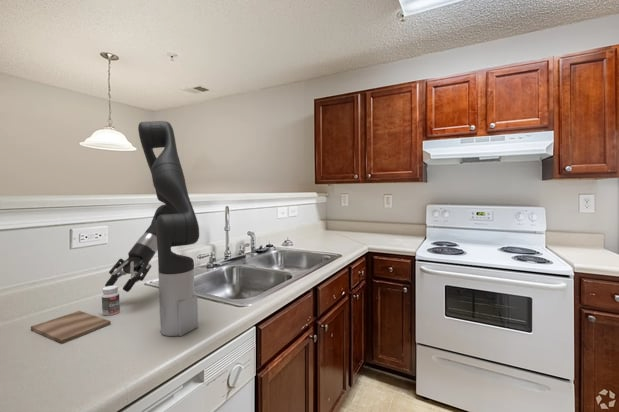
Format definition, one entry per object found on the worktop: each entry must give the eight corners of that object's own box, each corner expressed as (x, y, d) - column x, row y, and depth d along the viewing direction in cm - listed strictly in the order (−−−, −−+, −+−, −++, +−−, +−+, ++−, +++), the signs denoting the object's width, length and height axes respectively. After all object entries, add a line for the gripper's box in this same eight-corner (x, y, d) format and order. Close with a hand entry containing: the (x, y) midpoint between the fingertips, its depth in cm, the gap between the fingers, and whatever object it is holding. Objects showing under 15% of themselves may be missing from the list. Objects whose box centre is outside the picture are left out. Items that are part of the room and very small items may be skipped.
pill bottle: (111, 316, 91) (109, 290, 90) (98, 315, 92) (97, 289, 91) (123, 310, 96) (122, 285, 95) (111, 309, 96) (110, 284, 96)
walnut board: (110, 324, 85) (110, 321, 85) (61, 343, 75) (61, 340, 75) (79, 313, 93) (79, 310, 93) (30, 330, 82) (30, 326, 82)
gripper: (124, 240, 105) (93, 281, 95) (153, 243, 100) (123, 286, 90) (138, 252, 110) (109, 291, 100) (166, 255, 105) (139, 296, 95)
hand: (116, 289), depth 95 cm, fingers open, 8 cm apart
